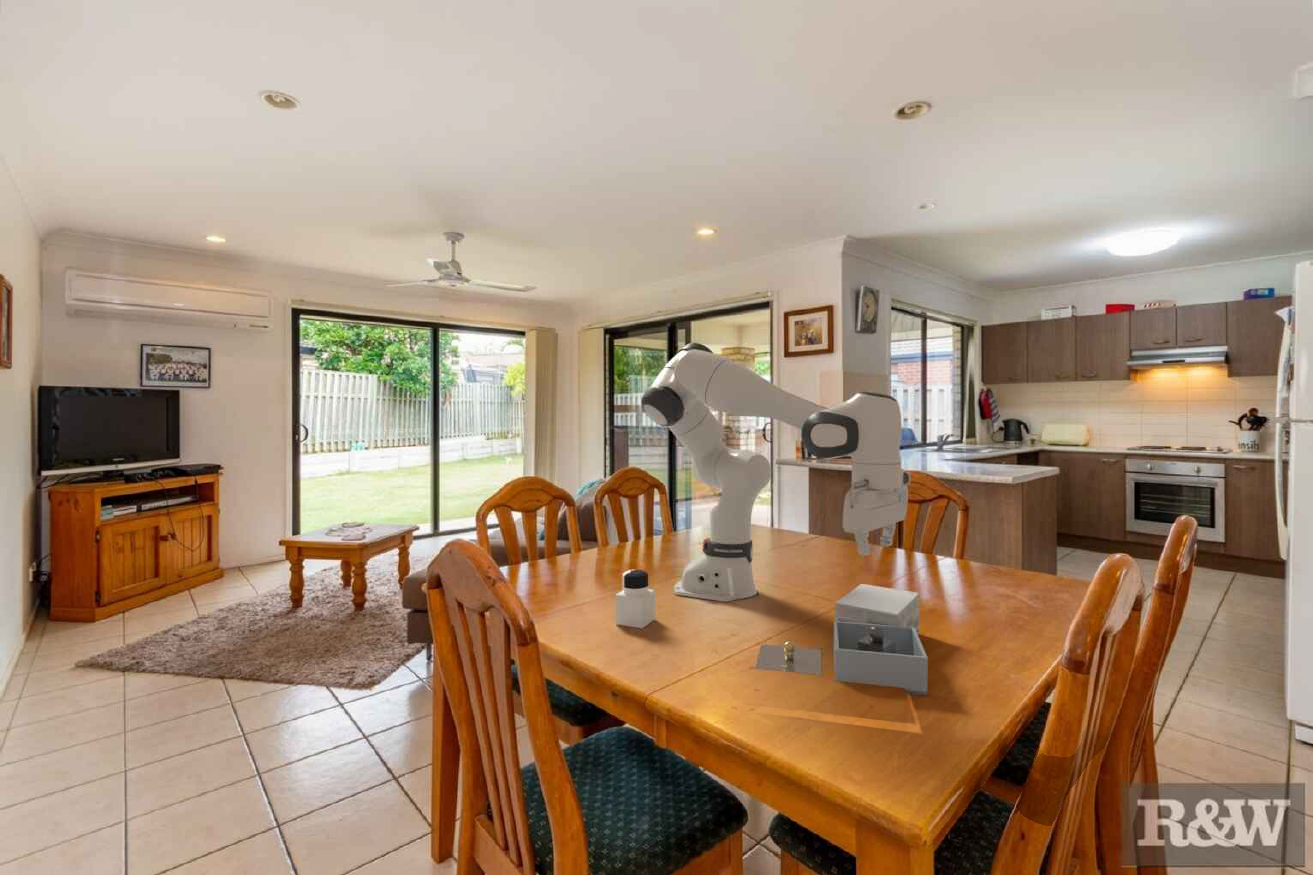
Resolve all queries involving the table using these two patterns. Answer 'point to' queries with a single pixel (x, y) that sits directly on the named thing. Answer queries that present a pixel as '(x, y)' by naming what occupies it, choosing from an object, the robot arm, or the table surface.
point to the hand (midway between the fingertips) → (875, 550)
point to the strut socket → (876, 641)
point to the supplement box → (879, 607)
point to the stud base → (796, 666)
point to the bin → (881, 658)
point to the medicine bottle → (635, 600)
